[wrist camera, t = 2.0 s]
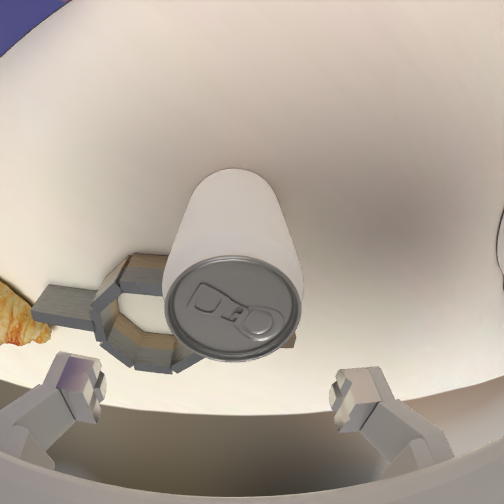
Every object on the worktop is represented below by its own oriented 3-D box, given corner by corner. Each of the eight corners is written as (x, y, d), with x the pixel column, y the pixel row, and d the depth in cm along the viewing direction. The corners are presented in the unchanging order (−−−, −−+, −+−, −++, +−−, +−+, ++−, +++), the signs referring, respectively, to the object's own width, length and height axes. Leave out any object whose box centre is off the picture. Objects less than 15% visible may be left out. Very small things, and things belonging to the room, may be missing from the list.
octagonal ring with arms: (297, 265, 26) (307, 294, 22) (279, 349, 30) (284, 380, 27) (100, 250, 24) (81, 276, 21) (114, 335, 29) (103, 365, 25)
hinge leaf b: (213, 259, 25) (210, 288, 22) (209, 345, 30) (207, 377, 26) (40, 245, 24) (17, 268, 20) (60, 327, 28) (46, 353, 25)
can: (249, 262, 26) (258, 383, 15) (175, 225, 24) (134, 335, 13) (294, 194, 23) (343, 290, 13) (216, 150, 21) (195, 214, 11)
